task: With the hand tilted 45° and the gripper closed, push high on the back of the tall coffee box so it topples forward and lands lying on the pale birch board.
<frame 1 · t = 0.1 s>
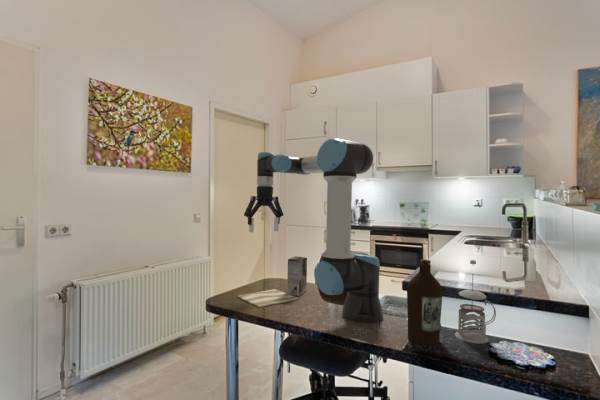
hand: (263, 231, 160), 28 cm above the counter, tool pointing down, fingers open, 13 cm apart
coffee box: (296, 293, 159), on the counter
olive oil: (423, 339, 109), on the counter
french press: (474, 338, 111), on the counter
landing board: (267, 298, 149), on the counter
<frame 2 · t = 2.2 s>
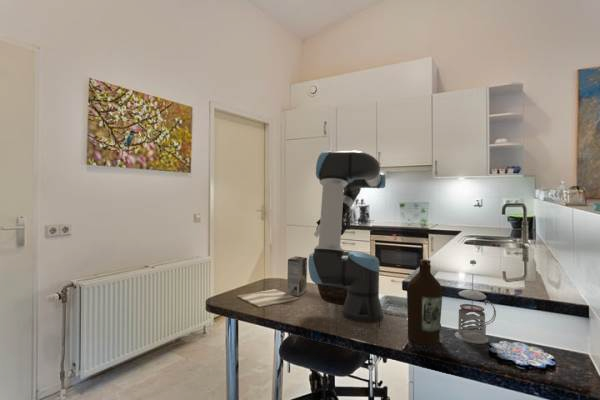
hand: (325, 237, 173), 25 cm above the counter, tool tilted 40°, fingers open, 13 cm apart
nothing on the counter moved.
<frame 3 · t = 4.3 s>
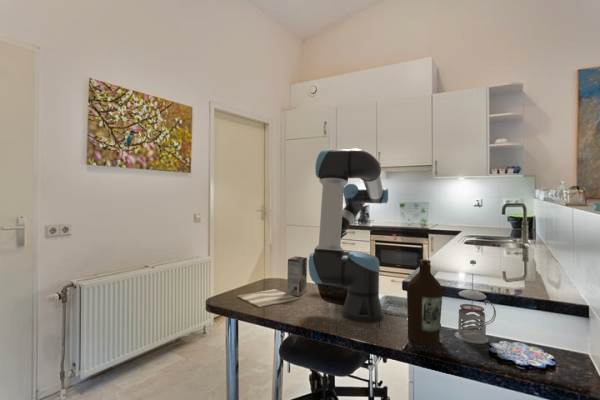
hand: (319, 255, 169), 16 cm above the counter, tool tilted 45°, fingers closed
nothing on the counter moved.
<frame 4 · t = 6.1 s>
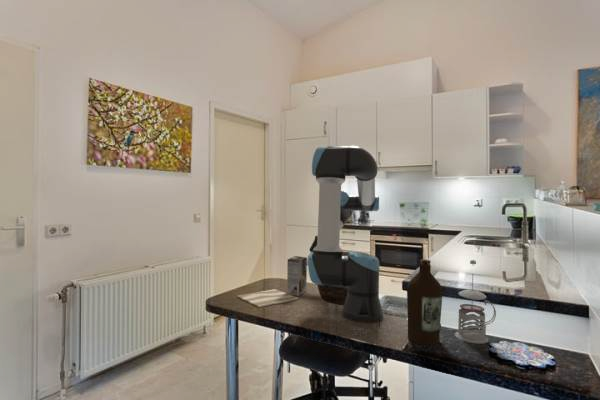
hand: (306, 264, 164), 13 cm above the counter, tool tilted 45°, fingers closed
coffee box: (296, 293, 159), on the counter, touching gripper
everything else where it was.
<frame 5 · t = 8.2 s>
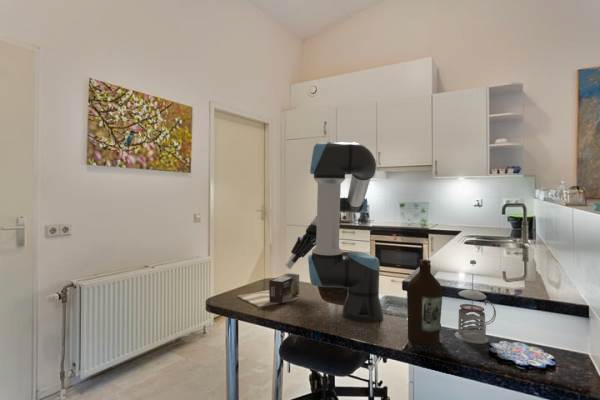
hand: (287, 266, 156), 13 cm above the counter, tool tilted 45°, fingers closed
coffee box: (293, 283, 156), point 5 cm above the counter, touching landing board
everything else where it was.
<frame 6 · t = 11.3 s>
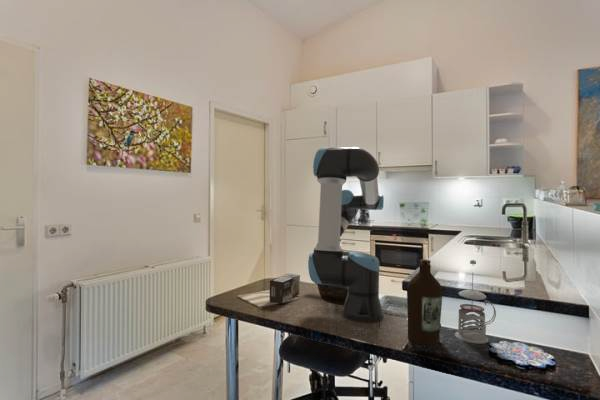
hand: (312, 262, 165), 13 cm above the counter, tool tilted 45°, fingers closed
nothing on the counter moved.
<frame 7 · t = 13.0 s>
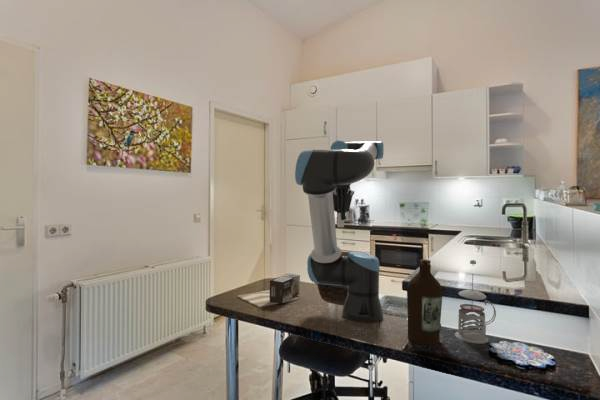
hand: (340, 227, 158), 31 cm above the counter, tool pointing down, fingers closed
nothing on the counter moved.
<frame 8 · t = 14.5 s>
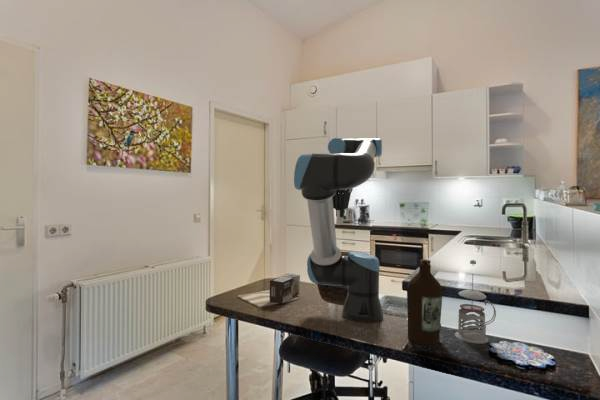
hand: (339, 224, 157), 32 cm above the counter, tool pointing down, fingers closed
nothing on the counter moved.
at the end: coffee box tilted 89°; coffee box touching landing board; coffee box inside the target area (3.3 cm from its centre), point 5.0 cm above the counter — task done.
